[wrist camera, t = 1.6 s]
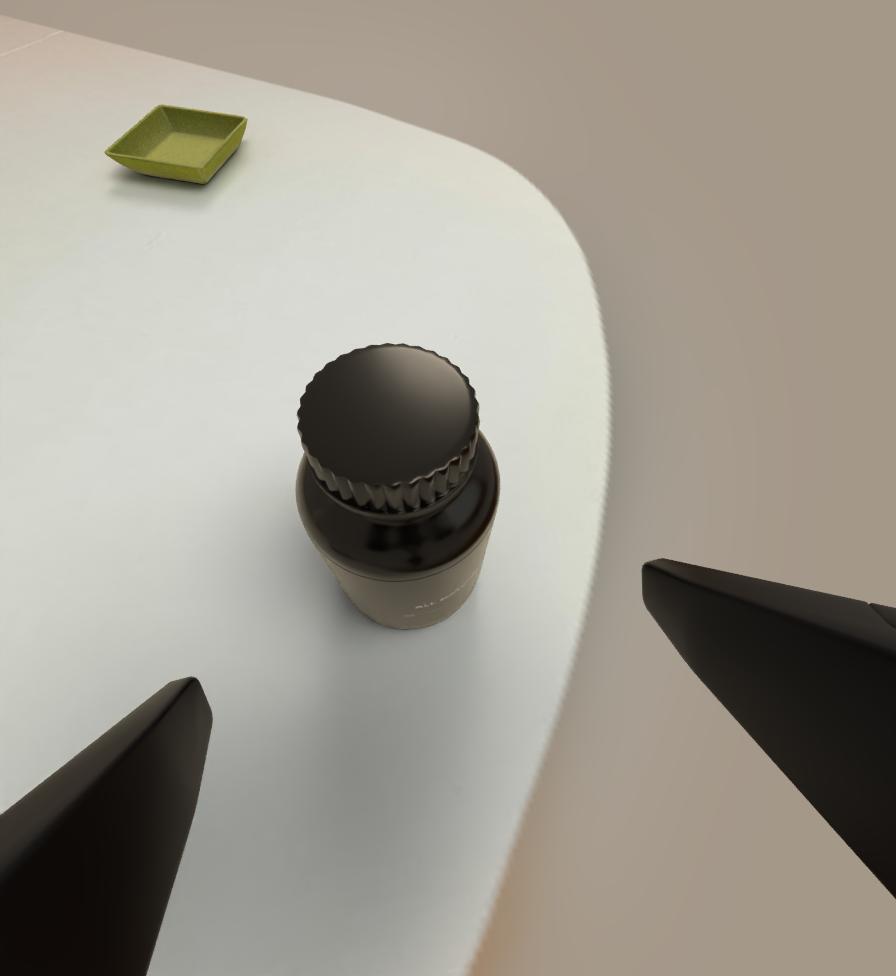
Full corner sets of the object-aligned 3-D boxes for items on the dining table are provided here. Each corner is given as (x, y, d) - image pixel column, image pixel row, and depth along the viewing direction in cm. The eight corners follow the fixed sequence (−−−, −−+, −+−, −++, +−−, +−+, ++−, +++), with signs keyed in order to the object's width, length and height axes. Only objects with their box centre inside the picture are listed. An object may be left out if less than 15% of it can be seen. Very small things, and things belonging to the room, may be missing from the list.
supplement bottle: (453, 654, 20) (465, 575, 9) (318, 601, 21) (190, 476, 10) (498, 523, 23) (546, 351, 12) (378, 482, 24) (328, 292, 13)
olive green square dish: (257, 143, 41) (248, 115, 39) (212, 195, 37) (200, 167, 35) (171, 131, 41) (158, 103, 40) (118, 180, 37) (101, 152, 36)
